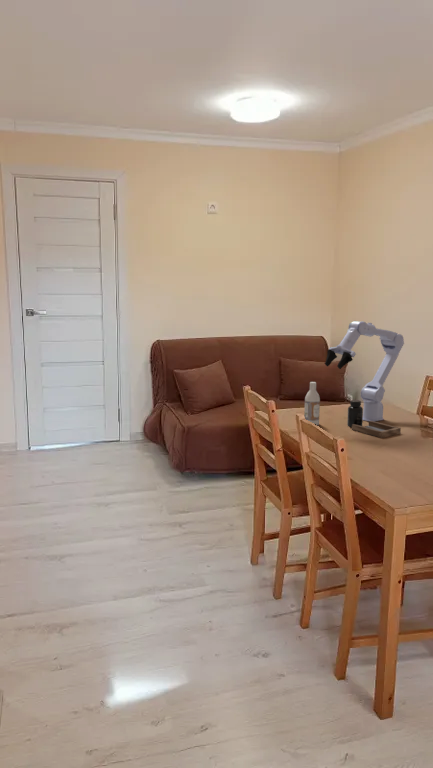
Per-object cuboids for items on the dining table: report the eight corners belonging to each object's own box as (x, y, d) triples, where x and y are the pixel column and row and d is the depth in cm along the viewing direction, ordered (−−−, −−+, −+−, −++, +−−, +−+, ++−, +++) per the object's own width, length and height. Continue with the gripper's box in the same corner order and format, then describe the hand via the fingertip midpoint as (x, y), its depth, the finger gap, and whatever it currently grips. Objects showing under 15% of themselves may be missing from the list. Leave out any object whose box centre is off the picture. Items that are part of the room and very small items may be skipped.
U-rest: (370, 425, 273) (370, 420, 272) (400, 433, 260) (400, 428, 259) (351, 430, 265) (352, 424, 265) (381, 438, 252) (381, 432, 252)
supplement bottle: (361, 424, 275) (362, 399, 273) (363, 428, 269) (364, 402, 266) (346, 424, 276) (347, 399, 274) (348, 427, 269) (349, 402, 267)
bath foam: (311, 426, 271) (312, 384, 267) (301, 423, 276) (302, 381, 273) (322, 424, 274) (323, 382, 271) (311, 421, 280) (313, 380, 276)
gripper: (331, 335, 271) (316, 358, 268) (355, 339, 260) (340, 363, 257) (339, 345, 275) (324, 367, 272) (363, 349, 264) (347, 372, 261)
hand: (332, 366), depth 265 cm, fingers open, 7 cm apart
